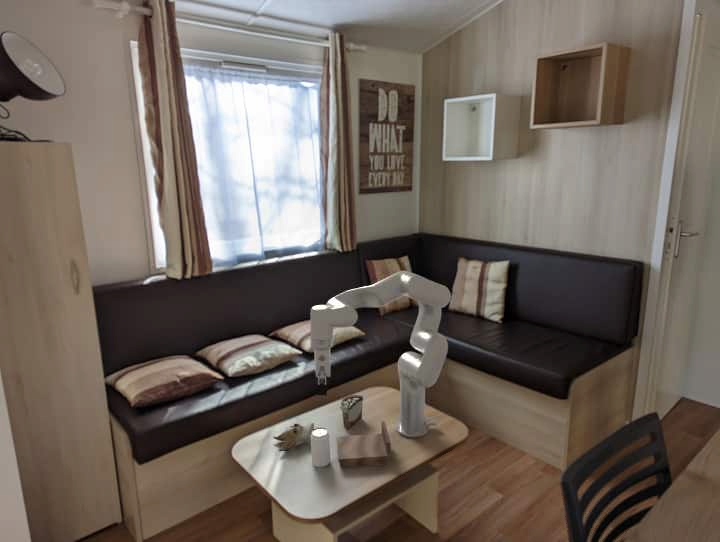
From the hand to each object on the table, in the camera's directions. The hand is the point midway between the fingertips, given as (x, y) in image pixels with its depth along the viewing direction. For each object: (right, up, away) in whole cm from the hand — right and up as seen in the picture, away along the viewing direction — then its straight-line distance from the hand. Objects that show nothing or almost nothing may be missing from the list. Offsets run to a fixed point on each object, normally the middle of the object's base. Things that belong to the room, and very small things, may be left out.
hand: (322, 388), depth 174 cm
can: (-1, -27, +4) cm, 27 cm away
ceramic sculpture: (-11, -25, +15) cm, 31 cm away
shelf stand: (+14, -26, +7) cm, 30 cm away
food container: (+9, -21, +29) cm, 37 cm away
